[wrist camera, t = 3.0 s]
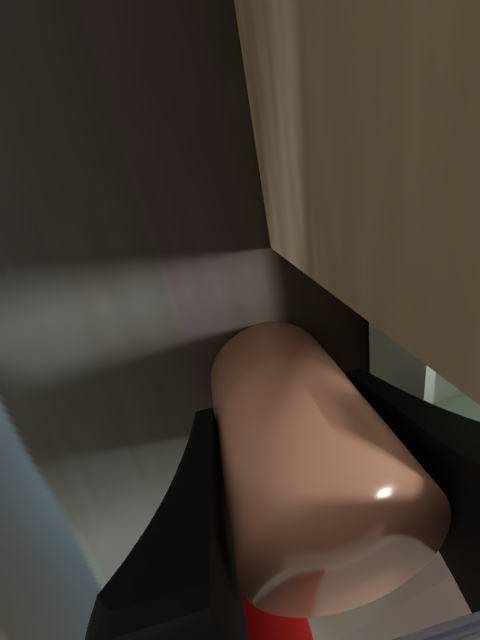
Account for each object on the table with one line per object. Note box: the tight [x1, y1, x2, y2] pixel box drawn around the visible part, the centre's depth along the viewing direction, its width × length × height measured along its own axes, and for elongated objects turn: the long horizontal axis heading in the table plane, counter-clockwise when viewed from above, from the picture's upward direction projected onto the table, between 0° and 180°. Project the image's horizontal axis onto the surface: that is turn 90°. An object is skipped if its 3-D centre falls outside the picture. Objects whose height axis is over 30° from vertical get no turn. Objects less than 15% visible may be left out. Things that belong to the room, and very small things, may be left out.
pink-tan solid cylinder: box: [210, 322, 451, 618], centre depth 11 cm, size 6×6×8 cm
